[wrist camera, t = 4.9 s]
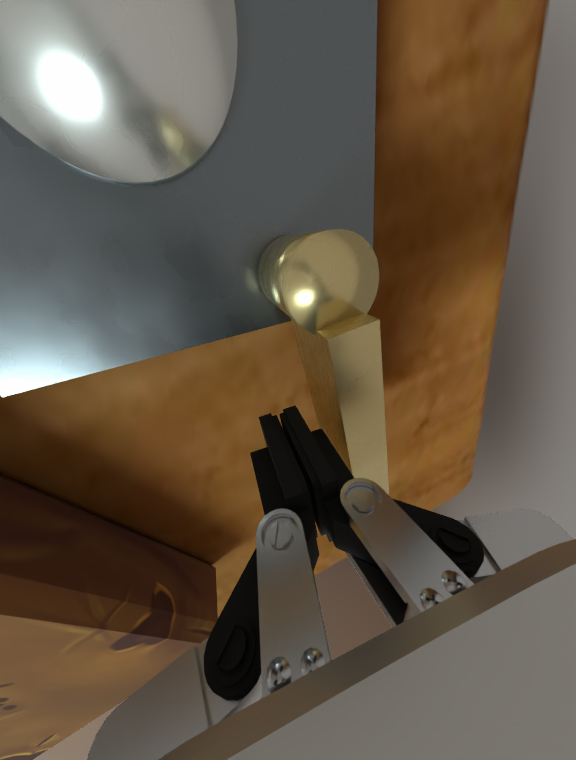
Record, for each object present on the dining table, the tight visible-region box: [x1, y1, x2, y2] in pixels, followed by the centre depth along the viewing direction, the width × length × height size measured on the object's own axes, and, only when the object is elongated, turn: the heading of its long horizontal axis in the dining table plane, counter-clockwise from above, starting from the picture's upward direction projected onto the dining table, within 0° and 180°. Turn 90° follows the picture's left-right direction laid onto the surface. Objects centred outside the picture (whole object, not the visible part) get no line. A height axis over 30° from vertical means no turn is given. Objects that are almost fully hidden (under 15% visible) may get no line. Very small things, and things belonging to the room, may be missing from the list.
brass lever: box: [258, 229, 389, 495], centre depth 11 cm, size 13×3×5 cm, turn 15°
